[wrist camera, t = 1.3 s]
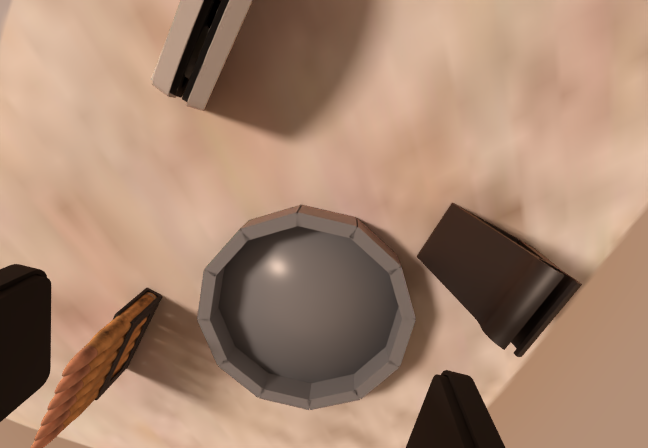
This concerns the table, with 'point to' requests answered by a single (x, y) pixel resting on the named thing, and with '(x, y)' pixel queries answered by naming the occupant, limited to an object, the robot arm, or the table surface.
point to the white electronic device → (198, 49)
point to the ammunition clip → (97, 365)
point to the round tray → (306, 308)
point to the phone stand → (497, 278)
